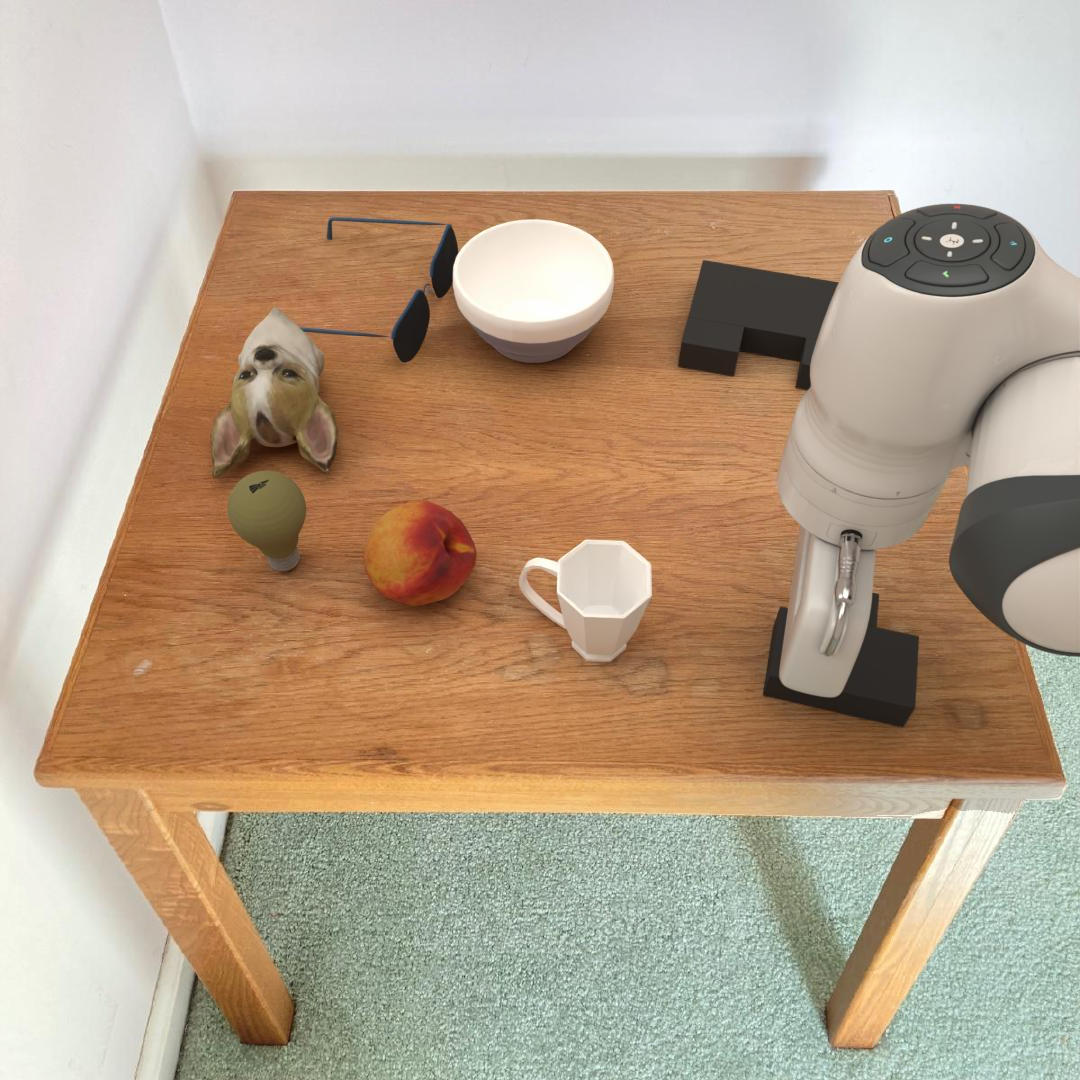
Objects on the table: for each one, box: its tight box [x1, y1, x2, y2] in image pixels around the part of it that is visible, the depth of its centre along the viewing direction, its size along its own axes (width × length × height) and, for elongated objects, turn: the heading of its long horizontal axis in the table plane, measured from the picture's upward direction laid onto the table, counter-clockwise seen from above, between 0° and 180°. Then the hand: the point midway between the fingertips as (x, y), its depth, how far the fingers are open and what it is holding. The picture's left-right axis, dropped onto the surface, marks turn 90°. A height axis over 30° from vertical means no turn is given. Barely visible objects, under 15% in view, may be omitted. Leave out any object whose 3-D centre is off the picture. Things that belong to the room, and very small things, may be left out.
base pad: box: [677, 259, 839, 391], centre depth 96 cm, size 16×12×3 cm
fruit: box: [362, 500, 478, 607], centre depth 77 cm, size 8×8×8 cm
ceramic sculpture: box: [209, 306, 339, 478], centre depth 87 cm, size 11×9×15 cm
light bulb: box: [227, 470, 307, 572], centre depth 77 cm, size 6×6×10 cm
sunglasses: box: [299, 216, 459, 364], centre depth 99 cm, size 17×15×5 cm
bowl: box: [452, 218, 615, 364], centre depth 94 cm, size 14×14×8 cm
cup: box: [518, 539, 653, 663], centre depth 75 cm, size 7×10×8 cm
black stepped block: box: [762, 592, 920, 728], centre depth 75 cm, size 10×9×3 cm
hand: (806, 603), depth 70 cm, fingers open, 8 cm apart
